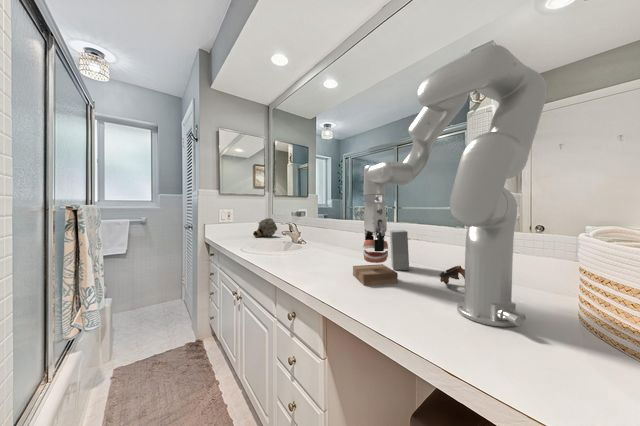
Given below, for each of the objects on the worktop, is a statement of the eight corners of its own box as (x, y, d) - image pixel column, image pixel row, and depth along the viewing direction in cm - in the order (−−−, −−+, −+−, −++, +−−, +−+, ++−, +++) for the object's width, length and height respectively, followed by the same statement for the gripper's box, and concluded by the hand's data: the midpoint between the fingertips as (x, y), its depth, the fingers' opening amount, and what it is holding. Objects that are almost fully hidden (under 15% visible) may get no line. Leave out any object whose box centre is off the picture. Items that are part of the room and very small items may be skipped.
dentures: (361, 262, 87) (361, 240, 86) (363, 258, 93) (363, 237, 93) (387, 264, 84) (387, 240, 84) (388, 259, 91) (388, 237, 91)
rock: (274, 215, 205) (259, 212, 194) (280, 229, 198) (265, 227, 187) (262, 229, 213) (247, 227, 202) (268, 242, 206) (252, 241, 194)
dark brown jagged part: (466, 298, 73) (450, 272, 75) (443, 301, 81) (430, 277, 83) (491, 282, 77) (475, 257, 80) (467, 286, 86) (454, 264, 88)
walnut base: (397, 284, 85) (397, 272, 85) (363, 286, 83) (363, 275, 83) (382, 274, 97) (382, 264, 96) (353, 276, 95) (352, 265, 94)
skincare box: (409, 271, 99) (409, 231, 99) (391, 270, 101) (391, 231, 100) (406, 265, 108) (406, 229, 107) (389, 265, 109) (389, 229, 108)
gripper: (395, 200, 80) (395, 253, 81) (374, 200, 98) (374, 244, 98) (373, 200, 79) (373, 254, 80) (356, 200, 96) (356, 244, 97)
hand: (373, 248), depth 89 cm, fingers closed on dentures, 8 cm apart
